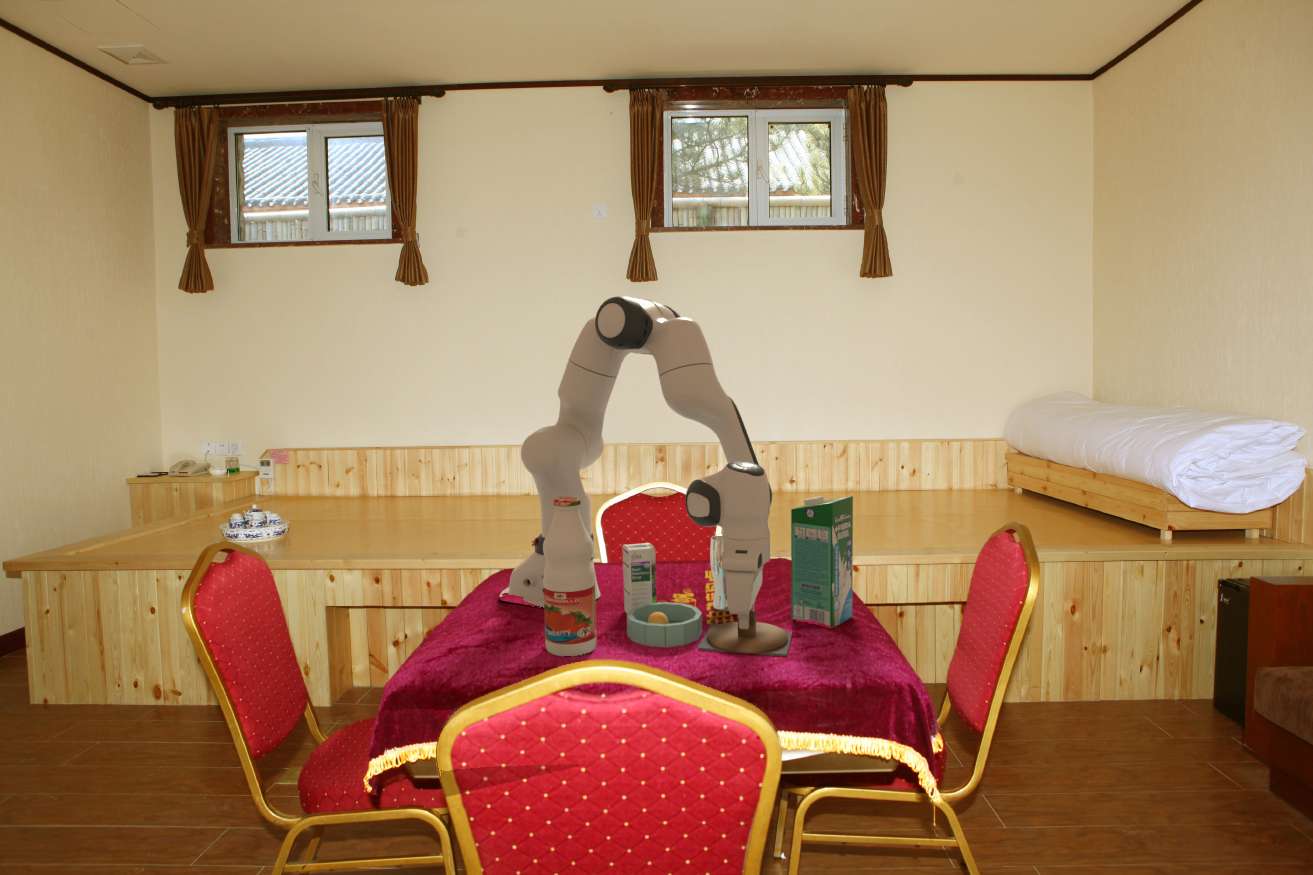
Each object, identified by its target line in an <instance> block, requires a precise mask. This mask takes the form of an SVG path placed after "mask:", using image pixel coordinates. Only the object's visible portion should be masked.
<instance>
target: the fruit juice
mask: <svg viewBox="0 0 1313 875" xmlns="http://www.w3.org/2000/svg"><path fill="white" fill-rule="evenodd" d="M580 504H581V501H580V498H579V497H571V496H568V497H558V498H555V499H554V500H553V505H554V508H555V514H554V518H553V521H552V525H551V528H550V530H549V533H548V535H547V536H546V538H545V540H544V543H543V552H544V556H545V559H546V567H545V569H544V576H543V586H544V608H543V610H544V638H545V640H544V641H545V649H546V651H547V652H548V653H550V654H551V655H554V656H557V657H564V656H571V657H579V656H583V654H584V655H586V653H587V654H589V653H591V652H593V651H594V650H595V649H596V646H597V636H598V635H597V608H596V607H597V603H596V601H597V599H595V576H596V572H595V573H594V570H595V567H594V568H593V566H592V563H591V557H592V553H593V541H592V538H591V536H590V535H589V533H588V532H587V530H586V528H585V526H584V523H583V521H582V518H581V515H580V512H579V508H580ZM578 655H579V656H578Z"/></svg>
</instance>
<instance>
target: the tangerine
mask: <svg viewBox="0 0 1313 875" xmlns="http://www.w3.org/2000/svg"><path fill="white" fill-rule="evenodd" d="M648 623H653V624H668V618H667V616H666V615H665V614H664V613H662V612H654V613H652V614H651V615H650V616H649V618H648Z"/></svg>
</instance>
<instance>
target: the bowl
mask: <svg viewBox="0 0 1313 875" xmlns="http://www.w3.org/2000/svg"><path fill="white" fill-rule="evenodd" d="M654 612H662V613H664V614H665V615H666V616H667V618H668V624H653V623H648V618H649V616H650V615H651V614H652V613H654ZM701 633H702V634H703V613H702V611H700V610H699V608H697V607H696V606H693V605H690V604H686V603H682V602H669V601H667V602H665V601H663V602H657V603H651V604H644V605H641V606H638V607H635V608H632V609H631V610H630V611H629V612H628V614H627V613H626V634H627V637H628V638H629V637H630V638H629V640H630V641H631V640H632V641H631V642H633V641H634V642H633V643H636V644H639V645H641V646H645V647H658V648H670V647H680V646H686V645H689V644H691V643H694V642H696V641H698V640H700V638H701V636H702V634H701ZM700 635H701V636H700ZM699 637H700V638H699ZM697 639H698V640H697Z"/></svg>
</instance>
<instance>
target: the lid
mask: <svg viewBox="0 0 1313 875" xmlns="http://www.w3.org/2000/svg"><path fill="white" fill-rule="evenodd" d="M749 618H750V626H749V628H748V629H740V628H739V618H738V617H737V621H730V622H725V623H720V624H716V625H717V626H715V627H713V628H711V629H710V630H709V631H708V630H707V631H708V632H707V631H706V633H707V641H708V642H709V643H710V644H711V645H712V646H714V647H716V648H719V649H722V650H724V651H729V652H728V653H733V652H735V653H736V654H747V653H763V652H769V651H773V650H777V649H779V648H781V647H783V646H784V645H785V644H786V643H787V641H788V635H787V633H786V632H785V631H784V630H783V629H784V628H781V627H779V626H776V625H774V624H770V623H767V622H759V621H757V611H754V612H752V611H750V612H749Z"/></svg>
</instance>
